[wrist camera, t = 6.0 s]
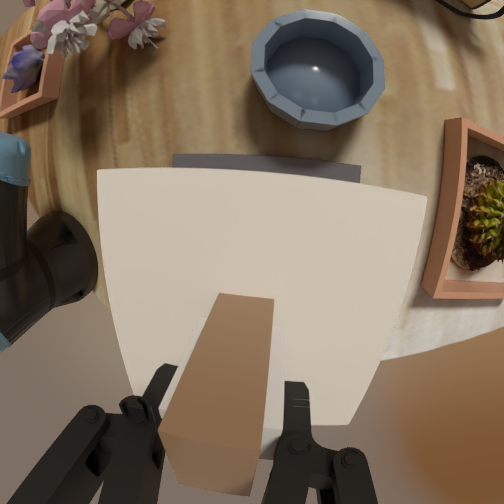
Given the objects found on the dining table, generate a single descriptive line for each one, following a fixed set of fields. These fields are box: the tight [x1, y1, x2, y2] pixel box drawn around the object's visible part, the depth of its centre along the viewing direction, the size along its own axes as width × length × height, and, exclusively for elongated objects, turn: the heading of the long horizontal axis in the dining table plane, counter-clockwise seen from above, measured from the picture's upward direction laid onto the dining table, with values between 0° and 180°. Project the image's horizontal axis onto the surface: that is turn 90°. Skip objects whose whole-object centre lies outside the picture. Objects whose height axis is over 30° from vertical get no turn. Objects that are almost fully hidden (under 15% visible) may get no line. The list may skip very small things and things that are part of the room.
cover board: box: [97, 168, 427, 496], centre depth 11 cm, size 18×18×10 cm
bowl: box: [251, 9, 385, 131], centre depth 23 cm, size 13×13×6 cm
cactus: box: [451, 156, 504, 271], centre depth 24 cm, size 17×16×10 cm
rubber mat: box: [173, 154, 361, 183], centre depth 33 cm, size 22×22×1 cm
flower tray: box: [0, 29, 66, 119], centre depth 25 cm, size 15×16×4 cm
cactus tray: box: [421, 118, 504, 299], centre depth 26 cm, size 22×23×4 cm
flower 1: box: [3, 45, 45, 93], centre depth 23 cm, size 9×9×10 cm
